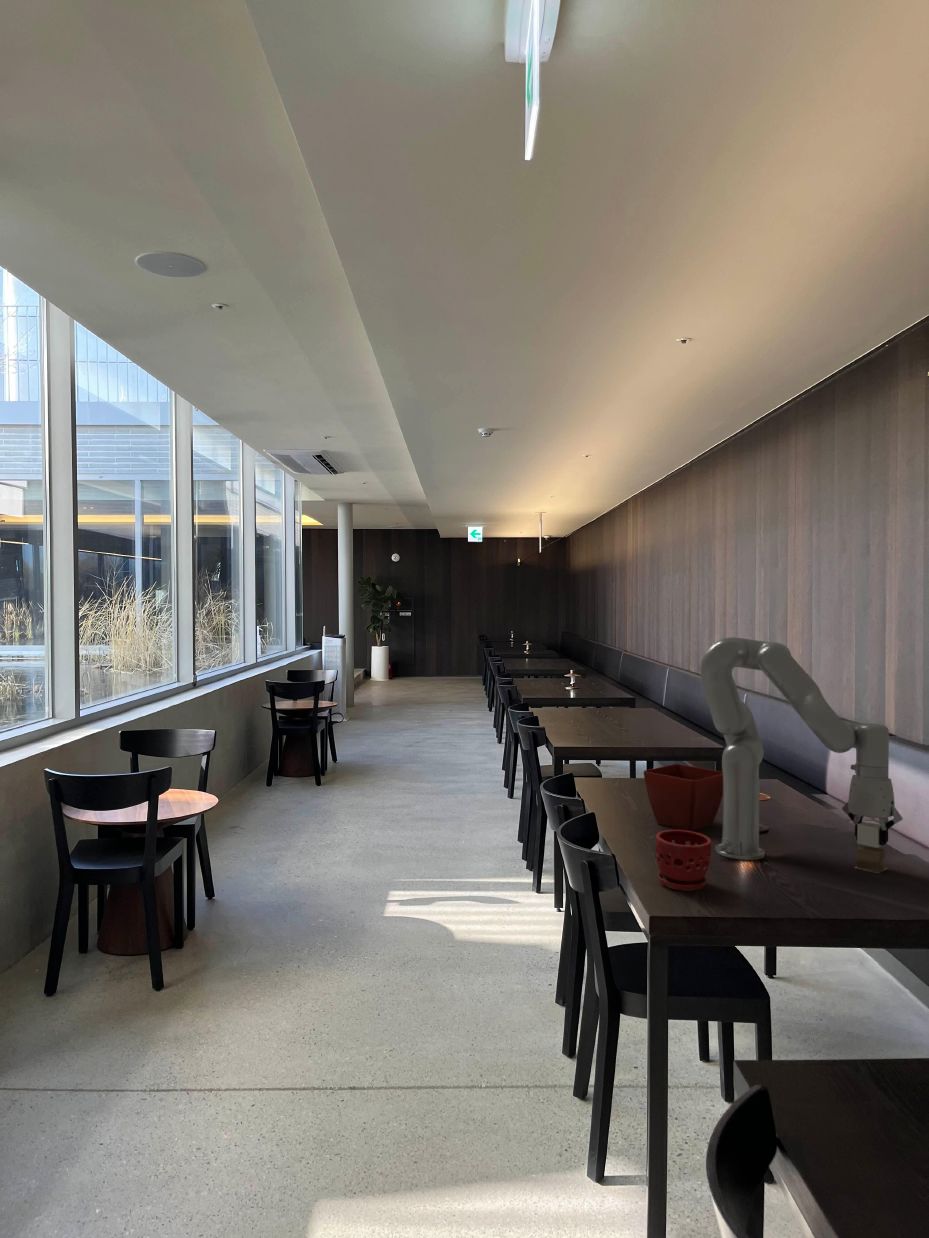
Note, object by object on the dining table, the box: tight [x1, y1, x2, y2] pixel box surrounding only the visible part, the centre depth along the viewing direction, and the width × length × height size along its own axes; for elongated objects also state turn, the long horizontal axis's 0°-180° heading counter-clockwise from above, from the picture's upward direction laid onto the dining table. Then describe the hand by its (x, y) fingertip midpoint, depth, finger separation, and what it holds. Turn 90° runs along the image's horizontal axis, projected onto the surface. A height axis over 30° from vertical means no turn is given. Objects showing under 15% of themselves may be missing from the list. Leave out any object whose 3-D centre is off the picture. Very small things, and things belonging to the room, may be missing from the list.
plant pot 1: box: [643, 763, 723, 832], centre depth 253 cm, size 19×19×17 cm
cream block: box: [856, 821, 882, 848], centre depth 208 cm, size 5×5×5 cm
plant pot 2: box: [655, 829, 712, 892], centre depth 196 cm, size 13×13×12 cm
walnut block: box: [856, 845, 886, 873], centre depth 207 cm, size 5×5×5 cm
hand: (871, 841), depth 207 cm, fingers closed on cream block, 5 cm apart
